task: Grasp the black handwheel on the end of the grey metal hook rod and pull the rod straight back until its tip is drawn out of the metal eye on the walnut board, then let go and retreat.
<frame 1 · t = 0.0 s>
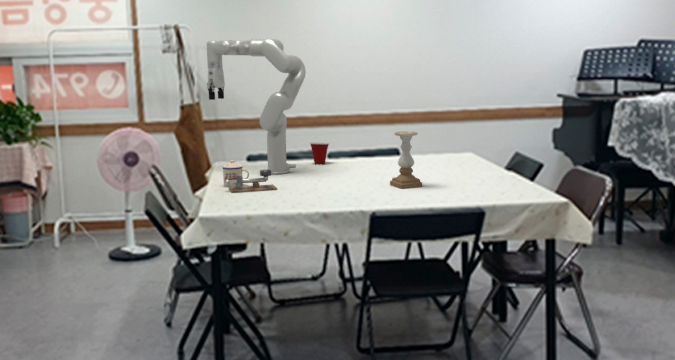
hand: (216, 99, 350), 37 cm above the table, tool pointing down, fingers open, 9 cm apart
plastic cup: (320, 164, 373), on the table
eye bracket: (252, 189, 300), on the table
teacup with lid: (236, 185, 311), on the table
candle holder: (406, 186, 303), on the table
hook rod: (248, 177, 299), point 6 cm above the table, slide at 0.0 cm
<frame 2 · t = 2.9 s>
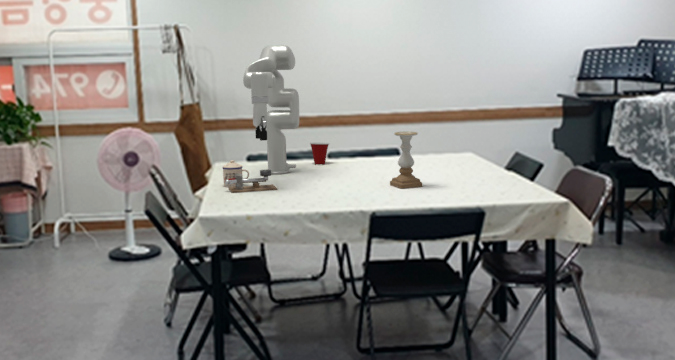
hand: (261, 139, 301), 22 cm above the table, tool pointing down, fingers open, 9 cm apart
nothing on the table moved.
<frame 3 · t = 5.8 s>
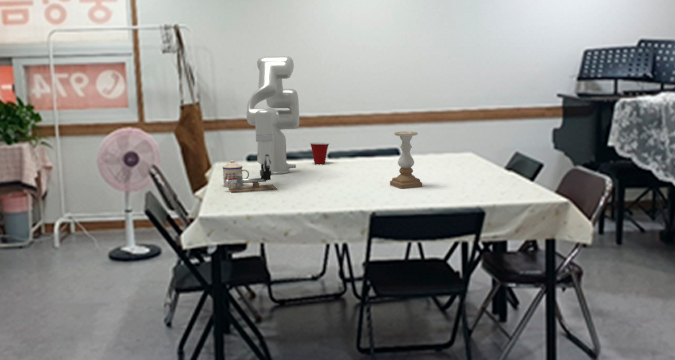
hand: (265, 178, 301), 5 cm above the table, tool pointing down, fingers closed on hook rod, 5 cm apart
hook rod: (248, 177, 299), point 6 cm above the table, slide at 0.0 cm, touching gripper
everything else where it was.
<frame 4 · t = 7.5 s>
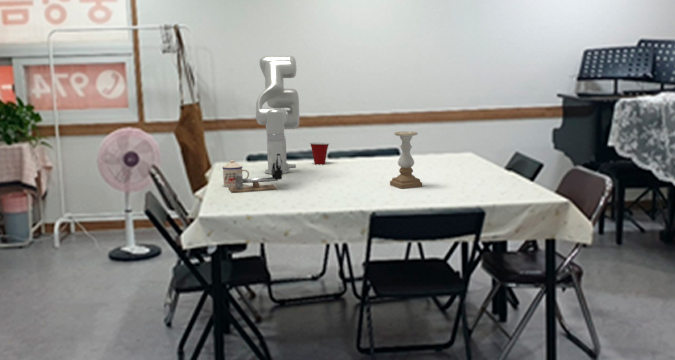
hand: (277, 177, 302), 5 cm above the table, tool pointing down, fingers closed on hook rod, 5 cm apart
hook rod: (259, 176, 300), point 6 cm above the table, slide at 5.1 cm, touching gripper
everything else where it was.
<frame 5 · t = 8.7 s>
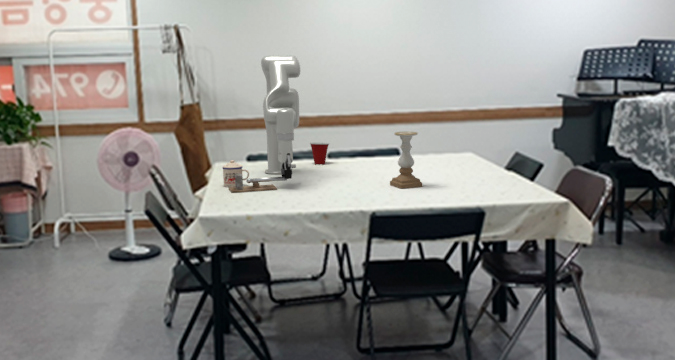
hand: (286, 177, 304), 5 cm above the table, tool pointing down, fingers closed on hook rod, 5 cm apart
hook rod: (269, 176, 301), point 6 cm above the table, slide at 9.4 cm, touching gripper
everything else where it was.
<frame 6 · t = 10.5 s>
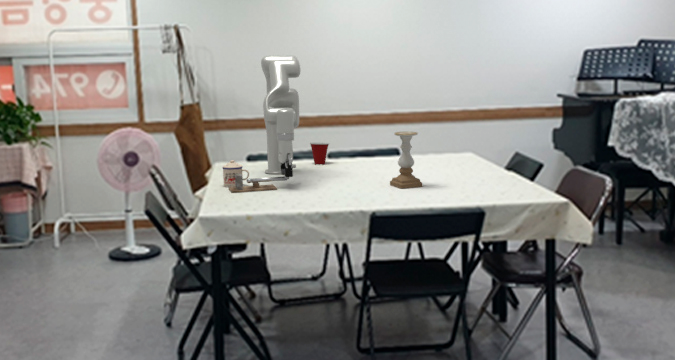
hand: (286, 175, 304), 5 cm above the table, tool pointing down, fingers open, 9 cm apart
hook rod: (269, 176, 301), point 6 cm above the table, slide at 9.5 cm
everything else where it was.
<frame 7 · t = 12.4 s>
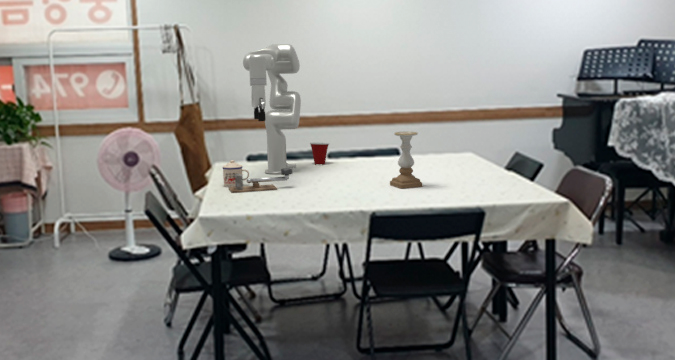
hand: (259, 120, 311), 29 cm above the table, tool pointing down, fingers open, 9 cm apart
nothing on the table moved.
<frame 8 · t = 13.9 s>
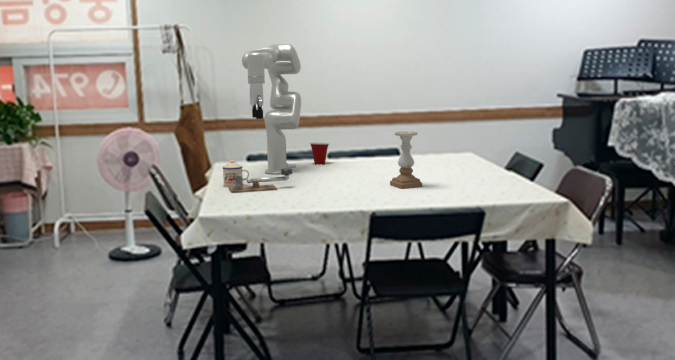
hand: (257, 118, 311), 30 cm above the table, tool pointing down, fingers open, 9 cm apart
nothing on the table moved.
at the end: hook rod slide at 9.5 cm; the gripper is holding nothing; teacup with lid moved 0.2 cm from its start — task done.
